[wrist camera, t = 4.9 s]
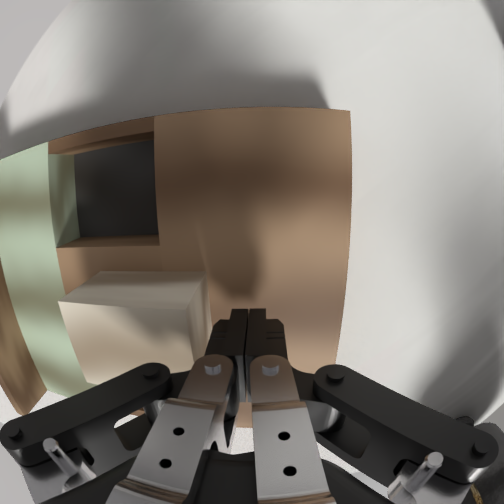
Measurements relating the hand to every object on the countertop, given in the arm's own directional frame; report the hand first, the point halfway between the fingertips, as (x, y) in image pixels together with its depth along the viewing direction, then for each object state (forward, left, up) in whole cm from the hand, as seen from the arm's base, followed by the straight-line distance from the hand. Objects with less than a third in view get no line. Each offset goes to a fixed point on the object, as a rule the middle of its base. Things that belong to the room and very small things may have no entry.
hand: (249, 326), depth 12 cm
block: (0, -5, -2) cm, 5 cm away
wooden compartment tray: (0, -7, -5) cm, 9 cm away
